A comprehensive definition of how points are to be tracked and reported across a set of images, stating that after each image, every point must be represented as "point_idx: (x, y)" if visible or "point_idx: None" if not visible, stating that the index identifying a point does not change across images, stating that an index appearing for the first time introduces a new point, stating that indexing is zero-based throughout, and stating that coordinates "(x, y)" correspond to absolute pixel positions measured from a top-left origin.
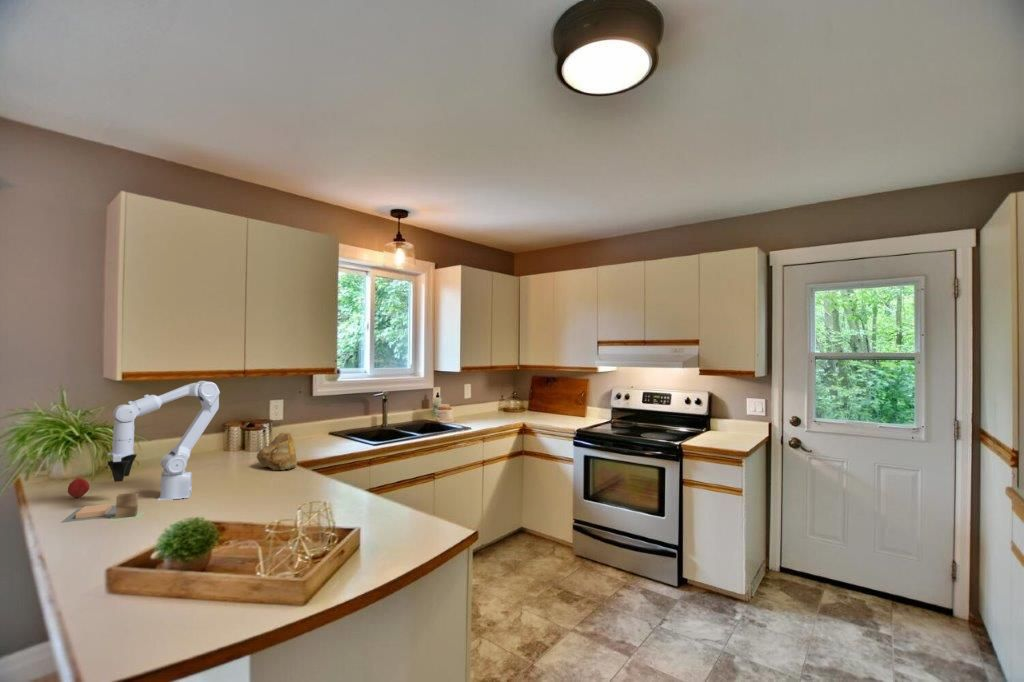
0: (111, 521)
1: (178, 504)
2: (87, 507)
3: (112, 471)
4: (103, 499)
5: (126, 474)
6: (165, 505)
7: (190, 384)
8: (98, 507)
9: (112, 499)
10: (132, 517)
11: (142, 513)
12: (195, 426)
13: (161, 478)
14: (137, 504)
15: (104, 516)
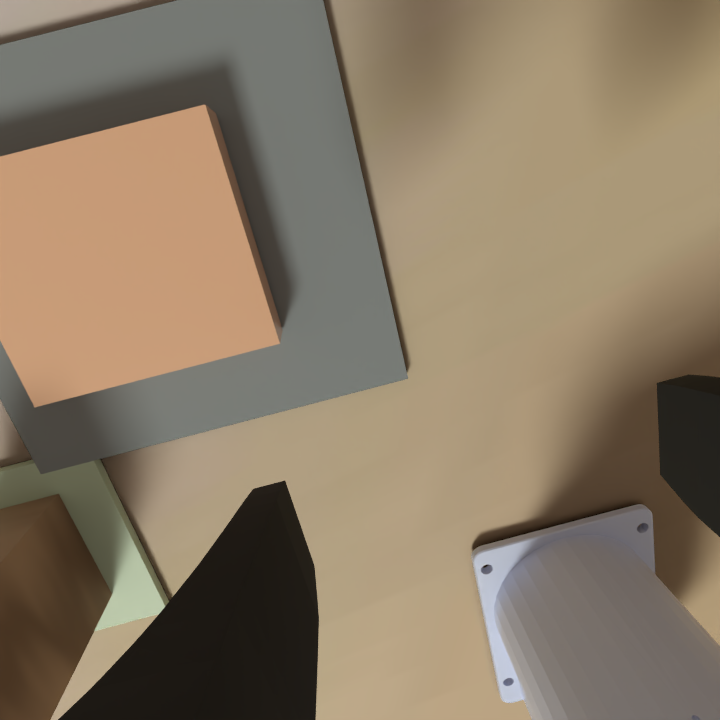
0: None
1: (363, 698)
2: (157, 164)
3: (122, 669)
4: (706, 26)
5: (681, 471)
6: (353, 638)
7: None
8: (152, 286)
9: (671, 131)
10: None
11: (126, 618)
12: None
13: (631, 714)
14: (69, 667)
15: None
